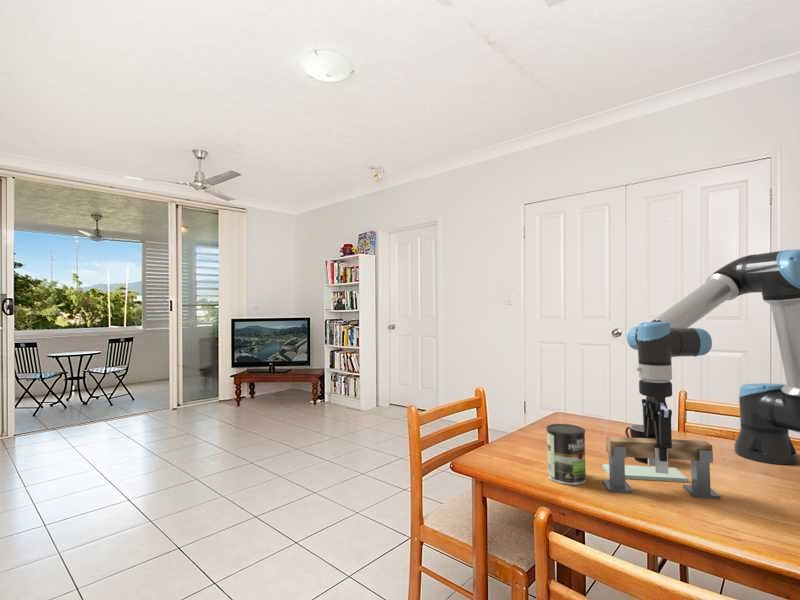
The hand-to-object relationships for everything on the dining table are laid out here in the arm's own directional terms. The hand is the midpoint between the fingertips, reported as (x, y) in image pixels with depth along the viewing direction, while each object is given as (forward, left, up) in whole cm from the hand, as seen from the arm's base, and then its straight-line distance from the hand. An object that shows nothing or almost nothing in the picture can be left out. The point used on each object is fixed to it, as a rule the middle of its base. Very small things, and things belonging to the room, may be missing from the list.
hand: (657, 468), depth 111 cm
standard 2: (-10, 0, -6) cm, 12 cm away
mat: (0, -11, -6) cm, 12 cm away
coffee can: (+22, -5, -6) cm, 23 cm away
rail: (0, 0, +3) cm, 3 cm away
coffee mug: (-5, -25, -6) cm, 26 cm away
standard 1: (+10, 0, -6) cm, 12 cm away
